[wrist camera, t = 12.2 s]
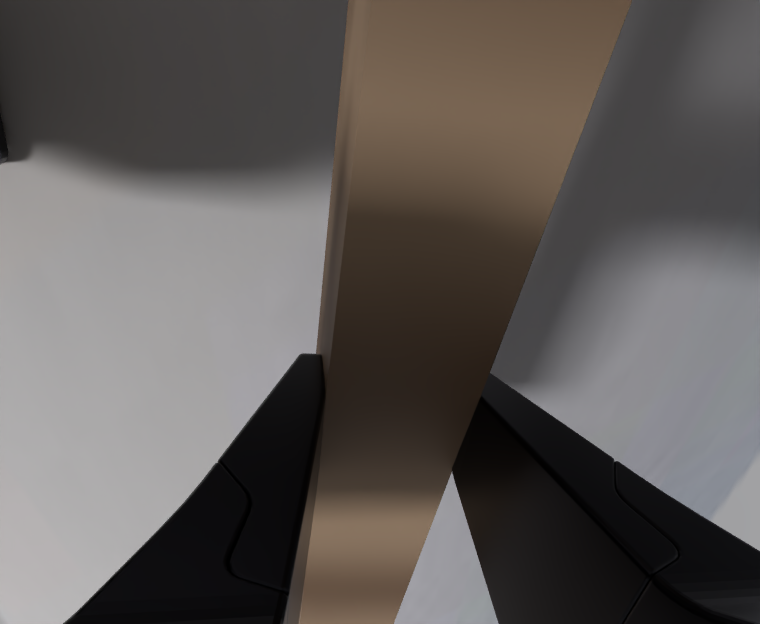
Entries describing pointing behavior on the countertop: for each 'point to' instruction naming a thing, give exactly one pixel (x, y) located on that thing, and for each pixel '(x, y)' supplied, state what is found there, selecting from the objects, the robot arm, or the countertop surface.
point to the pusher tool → (431, 257)
